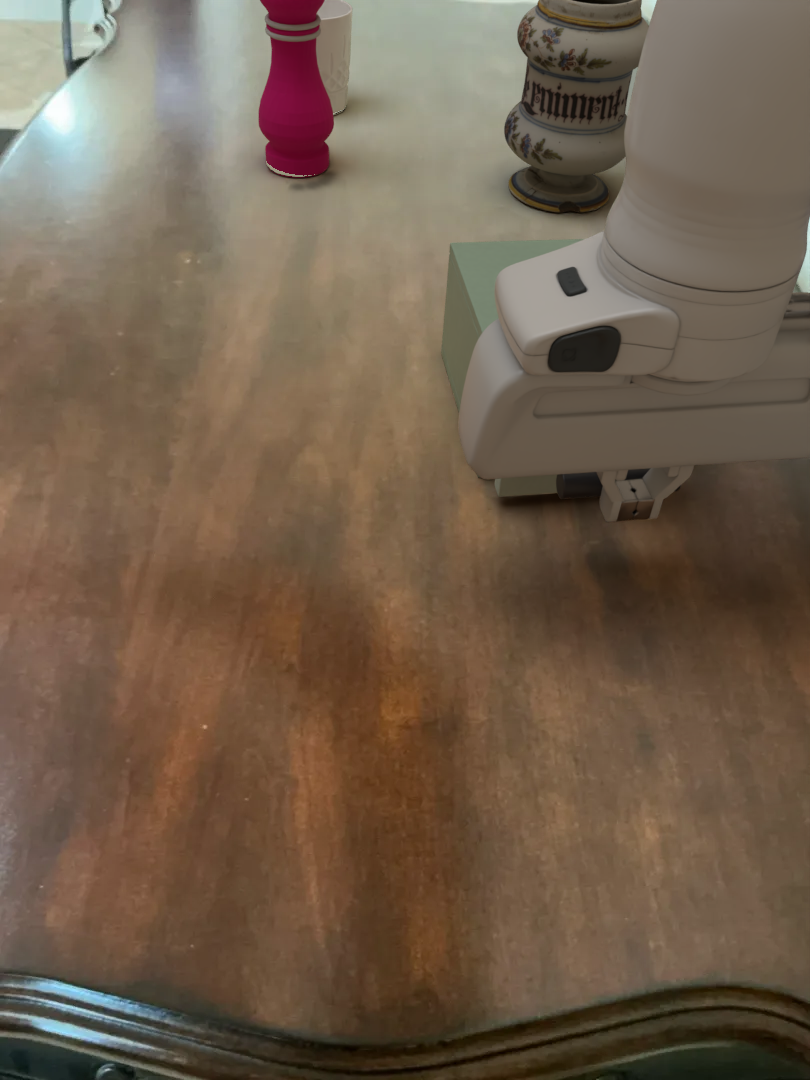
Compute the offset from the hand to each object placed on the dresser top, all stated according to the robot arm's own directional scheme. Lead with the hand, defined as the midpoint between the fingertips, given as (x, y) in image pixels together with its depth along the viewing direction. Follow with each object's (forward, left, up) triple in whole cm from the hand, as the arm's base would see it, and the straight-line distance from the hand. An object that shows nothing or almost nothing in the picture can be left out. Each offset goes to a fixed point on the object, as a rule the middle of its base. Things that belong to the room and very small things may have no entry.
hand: (627, 513), depth 55 cm
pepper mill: (+15, -57, -5) cm, 59 cm away
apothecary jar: (-10, -50, -5) cm, 51 cm away
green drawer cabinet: (0, -16, -4) cm, 17 cm away
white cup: (+12, -72, -5) cm, 73 cm away
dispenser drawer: (0, -10, -4) cm, 11 cm away
